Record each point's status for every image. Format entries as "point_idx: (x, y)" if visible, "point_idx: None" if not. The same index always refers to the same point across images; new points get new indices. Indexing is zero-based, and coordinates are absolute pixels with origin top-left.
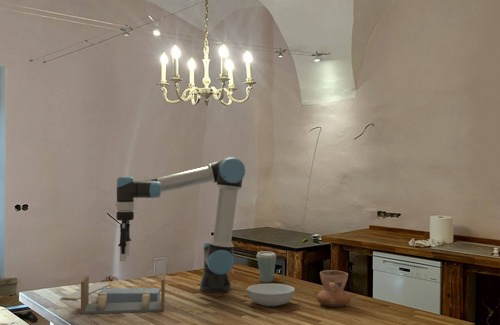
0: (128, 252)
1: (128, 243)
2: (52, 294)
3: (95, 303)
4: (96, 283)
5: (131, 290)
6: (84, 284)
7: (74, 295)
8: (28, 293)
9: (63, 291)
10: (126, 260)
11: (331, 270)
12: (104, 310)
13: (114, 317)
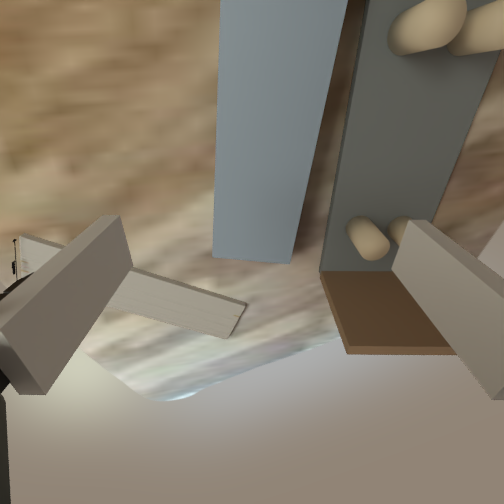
0: (105, 238)
1: (32, 314)
2: (175, 357)
3: (324, 252)
4: None
5: (258, 131)
6: None
7: (205, 316)
8: (167, 394)
9: (140, 343)
10: (411, 221)
11: None
12: (430, 215)
13: (501, 172)
